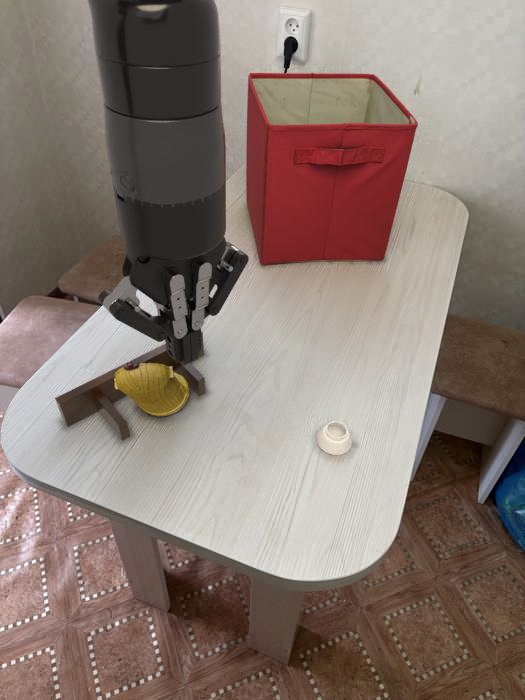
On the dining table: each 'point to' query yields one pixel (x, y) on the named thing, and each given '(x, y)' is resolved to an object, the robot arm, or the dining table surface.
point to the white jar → (334, 438)
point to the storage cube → (324, 165)
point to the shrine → (153, 387)
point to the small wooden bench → (119, 391)
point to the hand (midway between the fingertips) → (184, 357)
